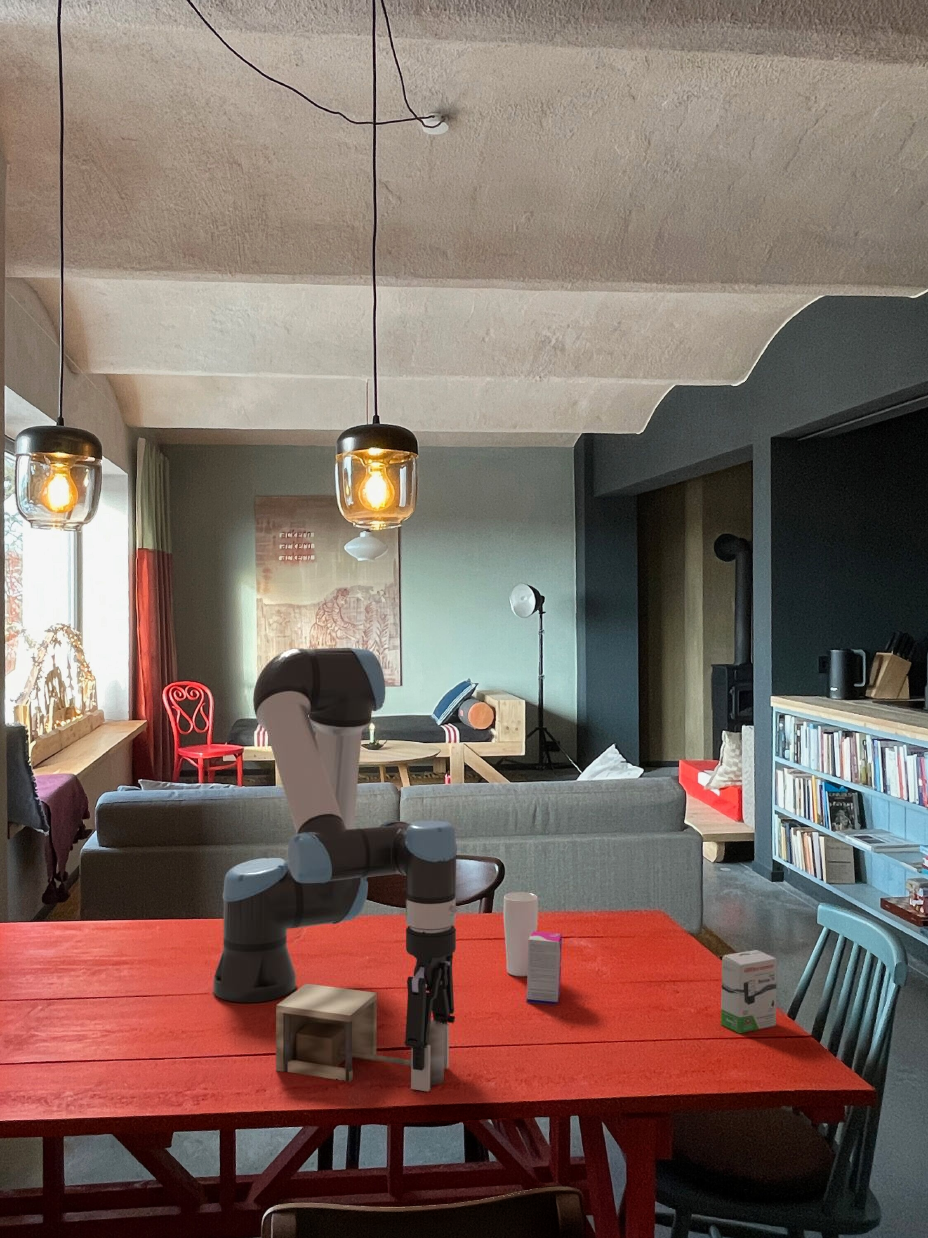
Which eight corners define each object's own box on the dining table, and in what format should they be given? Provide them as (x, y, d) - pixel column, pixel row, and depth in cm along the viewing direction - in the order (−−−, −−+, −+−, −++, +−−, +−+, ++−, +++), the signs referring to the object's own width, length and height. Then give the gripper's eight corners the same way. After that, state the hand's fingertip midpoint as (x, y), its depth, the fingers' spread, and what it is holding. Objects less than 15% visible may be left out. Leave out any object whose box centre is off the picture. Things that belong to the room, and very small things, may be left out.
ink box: (739, 1035, 174) (739, 964, 174) (719, 1024, 179) (719, 955, 179) (778, 1026, 178) (778, 956, 178) (757, 1016, 183) (758, 948, 183)
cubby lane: (275, 1070, 159) (276, 1005, 159) (305, 1045, 169) (306, 983, 169) (349, 1082, 155) (350, 1015, 155) (376, 1056, 165) (376, 993, 165)
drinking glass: (498, 976, 202) (498, 899, 202) (509, 965, 208) (510, 890, 208) (531, 980, 199) (531, 902, 199) (541, 970, 206) (542, 894, 206)
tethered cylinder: (296, 1066, 161) (296, 1014, 161) (311, 1053, 165) (311, 1003, 165) (437, 1088, 153) (437, 1034, 153) (448, 1074, 158) (448, 1022, 158)
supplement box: (558, 1005, 187) (558, 941, 187) (525, 1003, 188) (526, 939, 188) (562, 994, 193) (562, 932, 193) (530, 991, 194) (530, 930, 194)
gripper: (430, 948, 146) (430, 1111, 146) (475, 910, 165) (474, 1054, 165) (381, 943, 148) (380, 1103, 148) (430, 906, 167) (430, 1047, 167)
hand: (430, 1077), depth 156 cm, fingers open, 8 cm apart
